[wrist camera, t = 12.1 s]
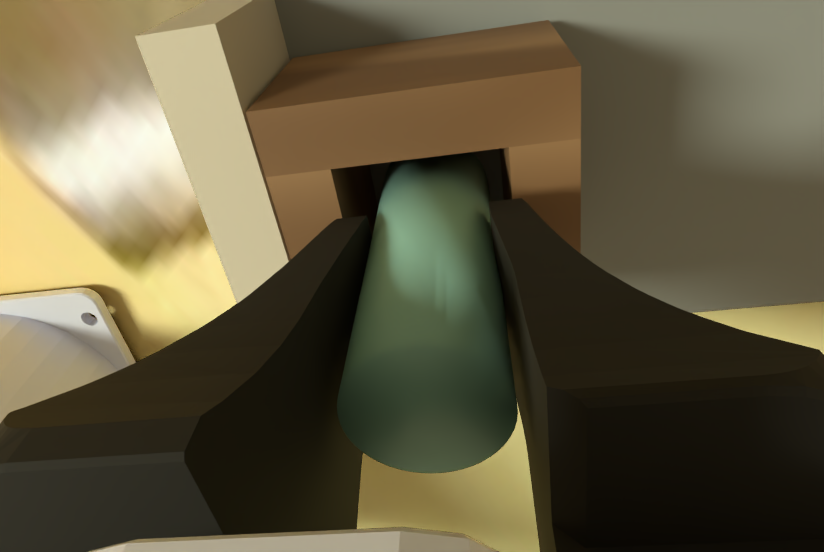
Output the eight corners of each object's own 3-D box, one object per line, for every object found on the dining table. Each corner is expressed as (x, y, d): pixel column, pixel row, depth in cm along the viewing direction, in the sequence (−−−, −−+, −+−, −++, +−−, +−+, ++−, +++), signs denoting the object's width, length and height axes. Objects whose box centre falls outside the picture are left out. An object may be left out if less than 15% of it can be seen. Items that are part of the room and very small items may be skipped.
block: (554, 247, 17) (580, 337, 13) (345, 268, 18) (321, 359, 14) (548, 19, 14) (580, 65, 10) (292, 57, 14) (245, 111, 11)
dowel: (494, 225, 14) (526, 464, 8) (396, 241, 15) (361, 480, 9) (480, 129, 13) (506, 332, 7) (373, 148, 13) (314, 357, 8)
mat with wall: (926, 283, 18) (1052, 389, 14) (318, 337, 20) (289, 440, 16) (1129, -246, 11) (1462, -306, 8) (193, -77, 13) (98, -60, 10)
